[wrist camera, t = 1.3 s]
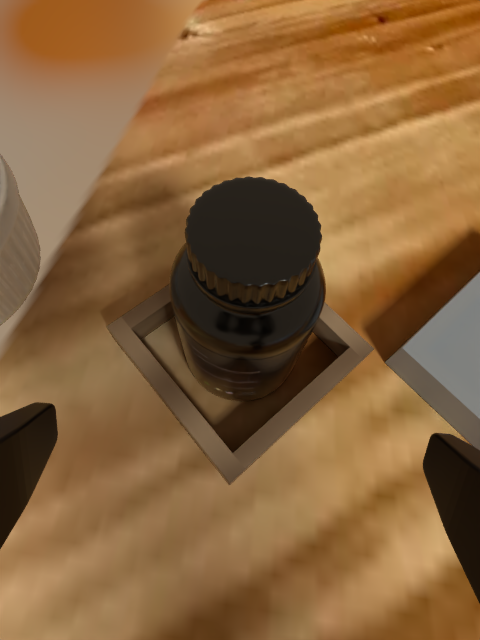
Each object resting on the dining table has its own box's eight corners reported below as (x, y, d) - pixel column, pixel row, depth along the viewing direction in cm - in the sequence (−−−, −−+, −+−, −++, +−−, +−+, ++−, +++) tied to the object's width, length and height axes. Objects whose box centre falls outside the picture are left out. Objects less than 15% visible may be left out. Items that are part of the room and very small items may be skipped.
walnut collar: (362, 360, 24) (374, 348, 22) (229, 485, 20) (230, 483, 19) (246, 248, 27) (248, 230, 25) (114, 339, 24) (106, 326, 22)
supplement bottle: (210, 288, 26) (206, 132, 15) (307, 323, 25) (375, 186, 14) (165, 379, 23) (118, 268, 12) (272, 423, 22) (325, 345, 11)
